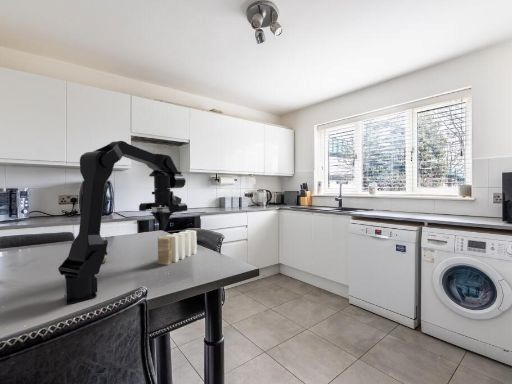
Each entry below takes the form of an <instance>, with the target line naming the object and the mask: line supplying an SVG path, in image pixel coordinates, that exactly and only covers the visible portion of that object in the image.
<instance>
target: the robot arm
mask: <svg viewBox="0 0 512 384" xmlns="http://www.w3.org/2000/svg"><path fill="white" fill-rule="evenodd" d="M122 158H127V159H129V160H132V161H136V162H139V163H140V164H141V163H142V164H143V165H146V166H147V167H148V168H149V169H151V170H152V172H151V173H149V175H148V176H149V177H151V178H152V177H153V187H154V188H153V189H154V191H151V195H153V196H154V202H141V203H140V204H139V205H138V210H139V212H146V211H148V210H149V211H150V210H151V211H150V215H151V214H152V216H153V217H154V219H155V221H156V222H157V224H158V225H159V227H160V230H162V231H165V230H166V228H167V225H168V223H169V220H170V218H171V215H172V214H174V213H182V212H187V211H188V205H187V204H186V202H185V203H183V202H182V198H181V197H179V196H178V195H177V196H176V195H174V191H172V190H171V189H183V188H184V187H185V185H186V178H185V176H184V175H183V174H182V171H179V170H178V168H177V167H176V165H175V163H174V161H173V159H172V156H170V155H168V154H163V153H153V152H150V151H148V150H146V149H143V148H140V147H138V146H135V145H133V144H131V143H128V142H127V141H123V140H118V141H111V142H110V143H108V144H106V145H104V146H102V147H99V148H98V149H95V150H92V151H88V152H87V151H86V152H84V153H82V155H81V156H80V157H79V171H80V172H79V173H80V174H81V176H82V179H83V181H84V186H83V195H82V203H81V210H80V213H81V214H80V222H79V229H78V234H77V235H76V237H75V238H74V240H73V241H72V243H71V245H70V248H69V253H68V256H67V257H66V258H65V259H64V261H63V262H62V263H61V264H60V265H59V266H58V268H57V270H58V272H59V274H60V275H61V276H64V295H63V298H64V301H65V303H66V305H70V304H71V305H72V304H75V303H78V302H79V303H80V302H82V301H86V300H89V299H90V300H91V299H93V298H96V297H97V296H98V295H97V293H98V292H99V291H98V277H97V276H96V275H98V274H99V273H100V269H101V266H102V264H103V263H102V262H103V261H104V258H105V255H107V256H108V254H107V251H108V250H107V249H108V244H109V243H108V240H107V239H103V238H102V236H101V228H102V227H101V225H102V218H103V217H102V215H103V207H104V199H105V198H104V197H105V188H106V183H107V181H108V180H109V178H110V177H111V176H112V174H113V171H114V166H115V164H116V163H118V162H119V161H120V160H122Z"/></svg>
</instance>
